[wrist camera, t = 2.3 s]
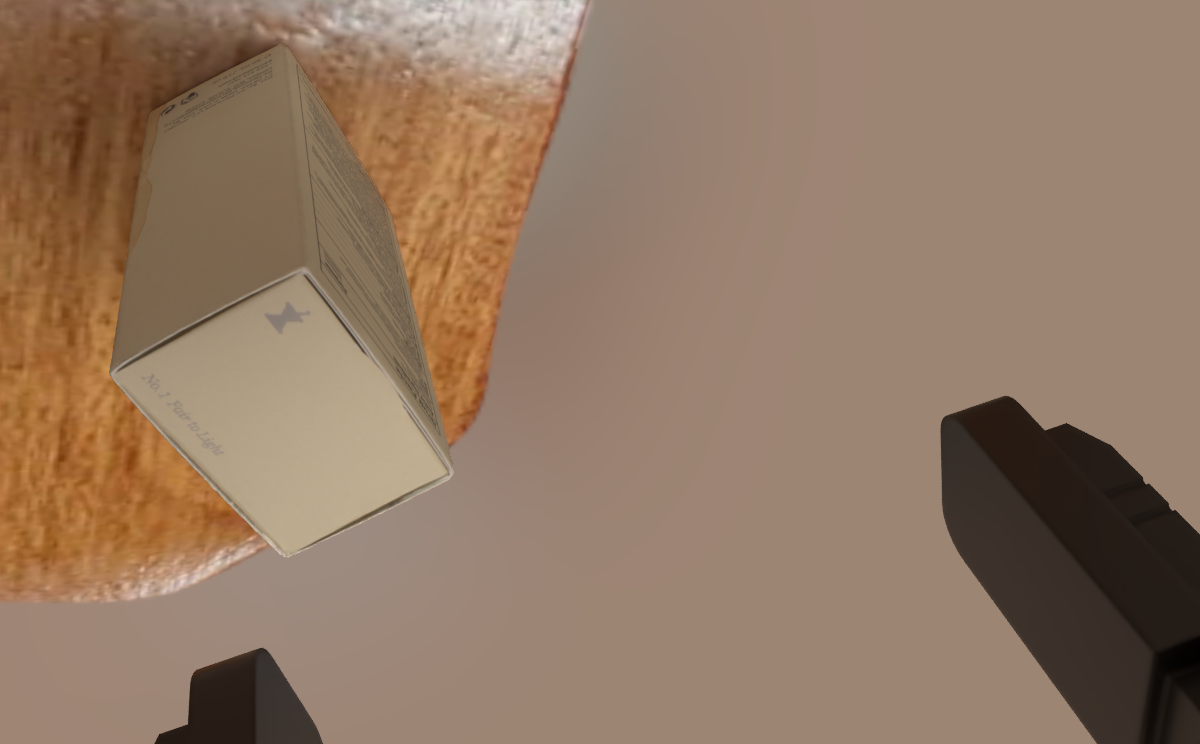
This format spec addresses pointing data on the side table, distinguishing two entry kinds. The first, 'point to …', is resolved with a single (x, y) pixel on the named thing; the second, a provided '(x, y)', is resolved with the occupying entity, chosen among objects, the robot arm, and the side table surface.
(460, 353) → the side table surface
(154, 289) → the cosmetic box
